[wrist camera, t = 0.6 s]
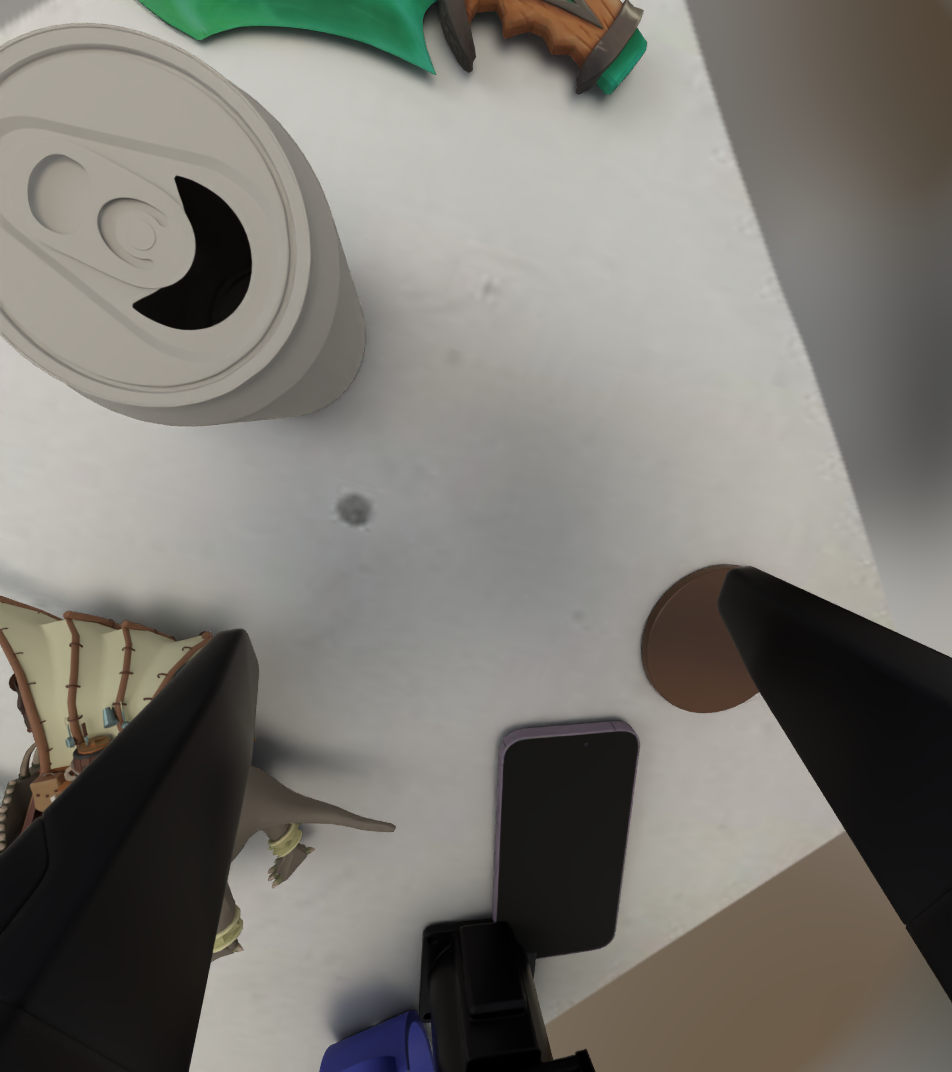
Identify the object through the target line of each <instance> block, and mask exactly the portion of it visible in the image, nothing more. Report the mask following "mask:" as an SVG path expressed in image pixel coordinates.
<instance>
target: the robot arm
mask: <svg viewBox="0 0 952 1072" xmlns="http://www.w3.org/2000/svg"><path fill="white" fill-rule="evenodd" d="M717 607H718V611H719V613H720V615H721V618H722V620H723V622H724V624H725V626H726V628H727V630H728V632H729V634H730V636H731V638H732V640H733V642H734V644H735V646H736V648H737V650H738V652H739V654H740V656H741V659H742V661H743V663H744V665H745V667H746V669H747V671H748V673H749V674H750V676H751V678H752V680H753V682H754V683H755V685H756V687H757V689H758V690H759V692H760V693H761V695H762V697H763V698H764V700H765V701H766V703H767V705H768V706H769V708H770V710H771V711H772V713H773V714H774V716H775V718H776V719H777V721H778V722H779V724H780V726H781V727H782V729H783V730H784V732H785V734H786V735H787V737H788V739H789V740H790V742H791V743H792V745H793V747H794V748H795V750H796V751H797V753H798V755H799V756H800V758H801V760H802V761H803V763H804V764H805V766H806V768H807V769H808V771H809V772H810V774H811V776H812V777H813V779H814V780H815V782H816V784H817V785H818V787H819V789H820V790H821V792H822V793H823V795H824V797H825V798H826V800H827V801H828V803H829V805H830V806H831V808H832V809H833V811H834V813H835V814H836V816H837V818H838V819H839V821H840V822H841V824H842V826H843V827H844V829H845V830H846V832H847V833H848V835H849V837H850V838H851V840H852V842H853V843H854V845H855V846H856V848H857V850H858V851H859V853H860V855H861V856H862V858H863V859H864V861H865V863H866V864H867V866H868V867H869V869H870V871H871V872H872V874H873V876H874V877H875V879H876V880H877V882H878V884H879V885H880V887H881V888H882V890H883V892H884V893H885V895H886V896H887V898H888V900H889V901H890V903H891V904H892V906H893V908H894V909H895V911H896V912H897V914H898V916H899V917H900V919H901V921H902V922H903V923H904V924H905V925H906V929H907V931H908V933H909V934H910V936H911V937H912V939H913V941H914V942H915V944H916V945H917V947H918V949H919V950H920V952H921V953H922V955H923V957H924V958H925V960H926V961H927V963H928V965H929V966H930V968H931V970H932V971H933V973H934V974H935V976H936V978H937V979H938V981H939V982H940V984H941V986H942V987H943V989H944V991H945V992H946V994H947V995H948V997H949V999H950V1000H951V1002H952V658H951V657H949V656H947V655H945V654H942V653H940V652H938V651H936V650H934V649H932V648H929V647H927V646H925V645H923V644H921V643H918V642H916V641H914V640H912V639H910V638H908V637H905V636H903V635H901V634H899V633H897V632H894V631H892V630H890V629H888V628H886V627H884V626H881V625H879V624H877V623H875V622H873V621H870V620H868V619H866V618H864V617H862V616H859V615H857V614H855V613H853V612H851V611H849V610H846V609H844V608H842V607H840V606H838V605H835V604H833V603H831V602H829V601H827V600H825V599H822V598H820V597H818V596H816V595H814V594H811V593H809V592H807V591H805V590H803V589H801V588H798V587H796V586H794V585H792V584H790V583H787V582H785V581H783V580H781V579H779V578H777V577H774V576H772V575H770V574H768V573H766V572H763V571H761V570H759V569H757V568H755V567H751V566H745V567H737V568H732V569H730V570H729V571H728V572H727V574H726V576H725V579H724V582H723V585H722V588H721V591H720V593H719V596H718V600H717ZM258 680H259V665H258V661H257V658H256V655H255V652H254V649H253V647H252V644H251V641H250V638H249V636H248V633H247V632H246V631H245V630H244V629H232V630H224V631H220V632H218V633H217V634H216V635H214V636H213V638H212V639H211V640H210V641H209V642H208V643H207V644H206V645H205V646H204V647H203V648H202V649H201V650H200V651H199V652H198V653H197V654H196V655H195V656H194V657H193V658H192V659H191V660H190V661H189V662H188V663H187V664H186V665H185V666H184V667H183V668H182V669H181V670H180V671H179V672H178V673H177V675H176V676H175V677H174V678H173V679H172V680H171V681H170V682H169V683H168V684H167V685H166V686H165V687H164V688H163V689H162V690H161V691H160V692H159V693H158V694H157V695H156V696H155V697H154V698H153V699H152V700H151V701H150V702H149V703H148V704H147V705H146V706H145V707H144V708H143V709H142V710H141V711H140V713H139V714H138V715H137V716H136V717H135V718H134V719H133V720H132V721H131V722H130V723H129V724H128V725H127V726H126V727H125V728H124V729H123V730H122V731H121V732H120V733H119V734H118V735H117V736H116V737H115V738H114V739H113V740H112V741H111V742H110V743H109V744H108V745H107V746H106V747H105V748H104V749H103V751H102V752H101V753H100V754H99V755H98V756H97V757H96V758H95V759H94V760H93V761H92V762H91V763H90V764H89V765H88V766H87V767H86V768H85V769H84V770H83V771H82V772H81V773H80V774H79V775H78V776H77V777H76V778H75V779H74V780H73V781H72V782H71V783H70V784H69V785H68V786H67V788H66V789H65V790H64V791H63V792H62V793H61V794H60V795H59V796H58V797H57V798H56V799H55V800H54V801H53V802H52V803H51V804H50V805H49V806H48V807H47V808H46V809H45V810H44V811H43V814H42V816H43V817H38V818H36V819H35V820H34V821H33V822H32V823H31V824H30V825H29V826H28V827H27V828H26V829H25V830H24V831H23V832H22V833H21V834H20V836H19V837H18V838H17V839H16V840H15V841H14V842H13V843H12V844H11V845H10V846H9V847H8V848H7V849H6V850H5V851H4V852H3V853H2V854H1V855H0V1072H189V1068H190V1063H191V1058H192V1053H193V1048H194V1043H195V1038H196V1033H197V1028H198V1023H199V1018H200V1013H201V1009H202V1004H203V999H204V994H205V989H206V984H207V979H208V974H209V969H210V964H211V959H212V954H213V949H214V944H215V939H216V934H217V929H218V925H219V920H220V915H221V910H222V905H223V900H224V895H225V890H226V885H227V880H228V875H229V870H230V865H231V860H232V855H233V850H234V846H235V841H236V836H237V831H238V826H239V821H240V816H241V811H242V806H243V801H244V796H245V791H246V786H247V781H248V776H249V771H250V766H251V760H252V752H253V742H254V730H255V717H256V705H257V692H258ZM536 954H537V953H526V951H525V950H524V948H523V947H522V946H521V945H520V943H518V942H517V941H515V937H514V933H513V929H512V928H510V925H509V924H508V923H507V922H496V923H495V922H493V919H490V920H480V921H471V922H461V923H451V924H442V925H432V926H429V927H427V928H426V929H425V930H424V931H423V938H422V956H421V974H420V991H419V1009H418V1010H419V1020H420V1021H421V1022H423V1023H431V1030H432V1045H433V1060H434V1072H595V1070H594V1067H593V1065H592V1062H591V1059H590V1057H589V1054H588V1051H587V1049H584V1050H580V1051H576V1052H575V1055H571V1056H567V1057H563V1058H559V1059H555V1060H553V1057H552V1053H551V1049H550V1045H549V1041H548V1037H547V1033H546V1029H545V1025H544V1021H543V1017H542V1013H541V1009H540V1005H539V1001H538V997H537V993H536V989H535V985H534V981H533V979H534V971H535V963H536Z"/></svg>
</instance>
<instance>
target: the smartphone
mask: <svg viewBox="0 0 952 1072" xmlns="http://www.w3.org/2000/svg"><path fill="white" fill-rule="evenodd" d="M639 748H640V741H639V738H638V736H637V734H636V733H635V731H634V730H633V729H632V727H631V726H630V725H629V724H627V723H625V722H621V721H610V722H598V723H586V724H574V725H562V726H549V727H537V728H525V729H519V730H515V731H513V732H511V733H509V734H508V735H506V736H505V737H504V739H503V740H502V742H501V744H500V747H499V760H498V785H497V810H496V835H495V860H494V885H493V910H492V919H493V922H495V923H496V922H507V923H508V924H509V925H510V928H512V929H513V933H514V937H515V941H517V942H518V943H520V945H521V946H522V947H523V948H524V950H525V951H526V953H537V954H536V959H540V958H546V957H553V956H559V955H566V954H572V953H579V952H585V951H592V950H597V949H601V948H603V947H605V946H607V945H608V944H609V943H610V942H611V941H612V940H613V938H614V936H615V932H616V925H617V918H618V910H619V902H620V895H621V887H622V879H623V872H624V864H625V856H626V849H627V841H628V833H629V826H630V818H631V810H632V803H633V795H634V787H635V779H636V772H637V764H638V756H639Z"/></svg>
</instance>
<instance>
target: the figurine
mask: <svg viewBox="0 0 952 1072" xmlns="http://www.w3.org/2000/svg"><path fill="white" fill-rule="evenodd" d="M63 617H64V618H65V620H63V619H61V618H58V617H56V616H54V615H52V614H49V613H47V612H45V611H43V610H40V609H37V608H34V607H32V606H29V605H26V604H23V603H20V602H17V601H14V600H12V599H9V598H6V597H3V596H0V645H1V647H2V649H3V651H4V653H5V655H6V657H7V659H8V661H9V663H10V665H11V667H12V669H13V671H14V674H13V675H12V676H11V678H10V680H9V686H10V688H11V689H12V690H13V691H16V692H17V693H18V700H17V707H18V709H19V710H20V711H21V712H22V713H21V714H22V715H23V717H24V721H25V724H26V726H27V728H28V729H27V731H28V732H32V733H33V737H34V740H35V743H34V744H33V745H32V746H31V747H30V748H29V749H28V750H27V751H26V754H25V756H24V758H23V761H22V764H21V768H20V774H19V778H18V779H15V780H12V781H10V782H8V785H7V788H6V791H5V796H4V799H3V801H2V806H1V807H0V855H1V854H2V853H3V852H4V851H5V850H6V849H7V848H8V847H9V846H10V845H11V844H12V843H13V842H14V841H15V840H16V839H17V838H18V837H19V836H20V834H21V833H22V832H23V831H24V830H25V829H26V828H27V827H28V826H29V825H30V824H31V823H32V822H33V821H34V820H35V819H36V818H38V817H43V816H42V814H43V811H44V810H45V809H46V808H47V807H48V806H49V805H50V804H51V803H52V802H53V801H54V800H55V799H56V798H57V797H58V796H59V795H60V794H61V793H62V792H63V791H64V790H65V789H66V788H67V786H68V785H69V784H70V783H71V782H72V781H73V780H74V779H75V778H76V777H77V776H78V775H79V774H80V773H81V772H82V771H83V770H84V769H85V768H86V767H87V766H88V765H89V764H90V763H91V762H92V761H93V760H94V759H95V758H96V757H97V756H98V755H99V754H100V753H101V752H102V751H103V749H104V748H105V747H106V746H107V745H108V744H109V743H110V742H111V741H112V740H113V739H114V738H115V737H116V736H117V735H118V734H119V733H120V732H121V731H122V730H123V729H124V728H125V727H126V726H127V725H128V724H129V723H130V722H131V721H132V720H133V719H134V718H135V717H136V716H137V715H138V714H139V713H140V711H141V710H142V709H143V708H144V707H145V706H146V705H147V704H148V703H149V702H150V701H151V700H152V699H153V698H154V697H155V696H156V695H157V694H158V693H159V692H160V691H161V690H162V689H163V688H164V687H165V686H166V685H167V684H168V683H169V682H170V681H171V680H172V679H173V678H174V677H175V676H176V675H177V673H178V672H179V671H180V670H181V669H182V668H183V667H184V666H185V665H186V664H187V663H188V662H189V661H190V660H191V659H192V658H193V657H194V656H195V655H196V654H197V653H198V652H199V651H200V650H201V649H202V648H203V647H204V646H205V645H206V644H207V643H208V642H209V641H210V640H211V639H212V638H213V636H212V633H211V632H210V631H204V632H205V633H204V632H201V633H200V634H199V636H197V637H193V638H189V639H185V640H181V641H176V640H175V638H174V637H173V636H169V635H166V634H164V633H161V632H159V631H157V630H155V629H152V628H149V627H146V626H143V625H140V624H137V623H133V622H130V621H127V620H125V621H123V623H122V624H121V625H119V624H117V623H115V622H114V621H113V620H111V619H109V620H108V619H105V618H103V617H98V616H93V615H88V614H83V613H77V612H72V611H66V612H65V613H64V614H63ZM73 619H75V620H73ZM80 620H81V621H80ZM110 620H111V621H110ZM112 621H113V622H112ZM202 633H203V634H202ZM201 634H202V636H201ZM254 741H256V738H254ZM36 746H37V749H36V751H35V754H34V758H33V762H32V767H31V768H29V760H30V756H31V754H32V752H33V750H34V749H35V747H36ZM295 823H297V824H295ZM300 823H319V824H335V825H342V826H347V827H352V828H356V829H360V830H368V831H377V832H394V830H395V828H396V826H395V825H393V824H391V823H387V822H382V821H377V820H373V819H368V818H364V817H361V816H358V815H356V814H353V813H351V812H348V811H346V810H344V809H342V808H339V807H337V806H334V805H331V804H328V803H325V802H322V801H318V800H315V799H312V798H309V797H306V796H303V795H301V794H299V793H296V792H294V791H292V790H290V789H289V788H287V787H285V786H284V785H283V784H281V783H280V782H279V781H277V780H276V779H275V778H273V777H272V776H270V775H269V774H268V773H266V772H265V771H263V770H262V769H259V768H257V767H254V766H252V765H251V766H250V771H249V776H248V781H247V786H246V791H245V796H244V801H243V806H242V811H241V816H240V821H239V826H238V831H237V836H236V841H235V846H234V850H233V855H232V860H231V862H232V861H233V860H234V859H235V858H236V856H237V855H238V854H239V852H240V851H241V850H242V849H243V847H244V845H245V844H246V842H247V840H248V839H249V838H250V837H251V836H252V835H253V834H254V833H255V832H257V831H259V830H261V829H262V830H263V831H264V832H265V833H266V835H267V836H268V837H269V840H268V844H269V846H270V848H269V849H268V850H272V849H274V852H273V855H275V854H276V855H277V857H279V858H277V859H276V860H275V861H274V862H275V863H276V864H275V865H274V866H273V867H271V868H270V869H269V871H268V874H271V873H272V874H271V875H270V876H269V879H268V881H271V880H273V879H275V881H274V882H273V885H272V888H274V887H276V886H277V885H279V884H281V883H282V882H283V881H286V880H287V879H288V878H289V877H290V875H291V874H292V873H293V872H294V871H295V870H296V868H297V867H298V866H299V865H300V864H301V863H302V861H303V860H304V859H305V858H306V857H307V854H309V853H311V852H312V851H314V850H315V848H312V847H307V848H306V847H305V845H303V844H300V843H299V842H300V840H301V838H302V831H301V830H299V829H298V828H299V825H300ZM242 929H243V920H242V919H241V918H240V908H239V907H238V906H237V905H235V900H234V899H233V896H232V893H231V890H230V888H229V885H228V882H227V885H226V890H225V895H224V900H223V905H222V910H221V915H220V920H219V925H218V929H217V934H216V939H215V944H214V949H213V954H212V959H211V962H212V961H214V960H216V959H218V958H219V957H223V956H226V955H229V954H232V953H234V952H238V951H242V950H243V948H242V946H241V945H240V943H238V940H237V937H238V936H239V935H240V933H241V931H242Z"/></svg>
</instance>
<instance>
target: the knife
mask: <svg viewBox="0 0 952 1072" xmlns="http://www.w3.org/2000/svg"><path fill="white" fill-rule="evenodd" d="M139 1H140V2H141V3H142V4H144V5H145V6H146V7H147V8H148V9H150V10H151V11H152V12H154V13H155V14H156V15H157V16H159V17H160V18H161V19H163V20H164V21H165V22H167V23H168V24H170V25H172V26H174V27H176V28H177V29H179V30H181V31H183V32H185V33H186V34H188V35H190V36H192V37H194V38H195V39H197V40H202V39H204V38H206V37H208V36H210V35H212V34H215V33H218V32H221V31H225V30H228V29H233V28H237V27H242V26H281V27H292V28H302V29H309V30H315V31H321V32H325V33H330V34H334V35H339V36H343V37H347V38H350V39H354V40H357V41H360V42H364V43H367V44H370V45H372V46H374V47H377V48H379V49H381V50H384V51H386V52H388V53H391V54H393V55H395V56H398V57H400V58H402V59H404V60H406V61H408V62H410V63H412V64H414V65H416V66H418V67H420V68H422V69H424V70H426V71H428V72H430V73H432V74H435V75H436V73H435V70H434V67H433V64H432V62H431V59H430V56H429V54H428V51H427V48H426V43H425V38H424V33H423V17H424V14H425V11H426V10H427V9H428V8H429V7H430V6H431V4H433V3H435V2H437V1H438V7H439V14H440V21H441V26H442V29H443V32H444V35H445V37H446V40H447V42H448V44H449V46H450V48H451V50H452V52H453V54H454V56H455V57H456V59H457V61H458V63H459V64H460V65H461V67H462V68H463V69H464V70H465V71H467V72H468V73H470V72H472V70H473V67H472V66H473V61H474V59H475V58H476V55H475V47H474V42H473V38H472V33H471V29H470V25H471V21H472V19H473V18H474V16H475V14H476V13H477V12H490V11H496V12H497V14H498V16H499V17H500V19H501V21H502V35H503V38H506V39H509V38H511V37H513V36H515V35H519V34H523V33H527V32H531V33H533V34H535V35H538V36H540V37H542V38H543V39H544V41H545V43H546V44H547V47H548V50H549V52H550V53H551V54H553V55H570V56H571V57H572V59H573V60H574V61H575V62H576V63H577V65H578V66H579V72H578V74H577V77H576V86H577V88H576V92H575V93H577V94H581V93H583V92H585V91H588V90H590V89H591V88H592V87H593V86H594V85H595V84H597V85H598V86H599V88H600V89H601V90H602V91H603V92H604V93H605V95H606V94H612V92H613V91H614V90H615V89H616V88H617V87H618V86H619V84H620V83H621V82H622V81H623V80H624V79H625V78H626V77H627V75H628V74H629V73H630V72H631V70H632V69H633V68H634V66H635V65H636V64H637V62H638V61H639V60H640V58H641V57H642V55H643V54H644V52H645V51H646V47H647V41H646V40H645V39H644V37H643V36H642V34H641V33H640V31H639V30H638V28H637V26H638V24H639V22H640V20H641V18H642V15H643V11H644V10H642V9H639V8H636V7H634V6H633V5H632V4H631V3H630V2H629V1H628V0H625V1H624V3H623V4H622V2H621V1H620V0H139Z"/></svg>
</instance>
